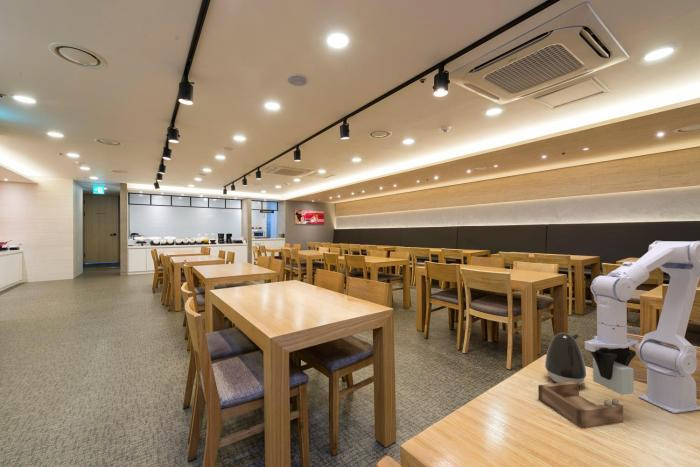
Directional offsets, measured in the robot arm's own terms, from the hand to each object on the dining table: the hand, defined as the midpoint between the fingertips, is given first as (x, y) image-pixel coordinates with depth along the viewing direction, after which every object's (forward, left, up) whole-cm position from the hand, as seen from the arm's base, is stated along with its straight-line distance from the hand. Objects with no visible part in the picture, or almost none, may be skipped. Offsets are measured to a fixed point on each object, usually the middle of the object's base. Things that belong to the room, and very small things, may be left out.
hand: (612, 377), depth 75 cm
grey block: (0, 0, -2) cm, 2 cm away
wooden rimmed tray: (+7, -3, -9) cm, 12 cm away
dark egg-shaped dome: (-3, -16, -9) cm, 18 cm away
